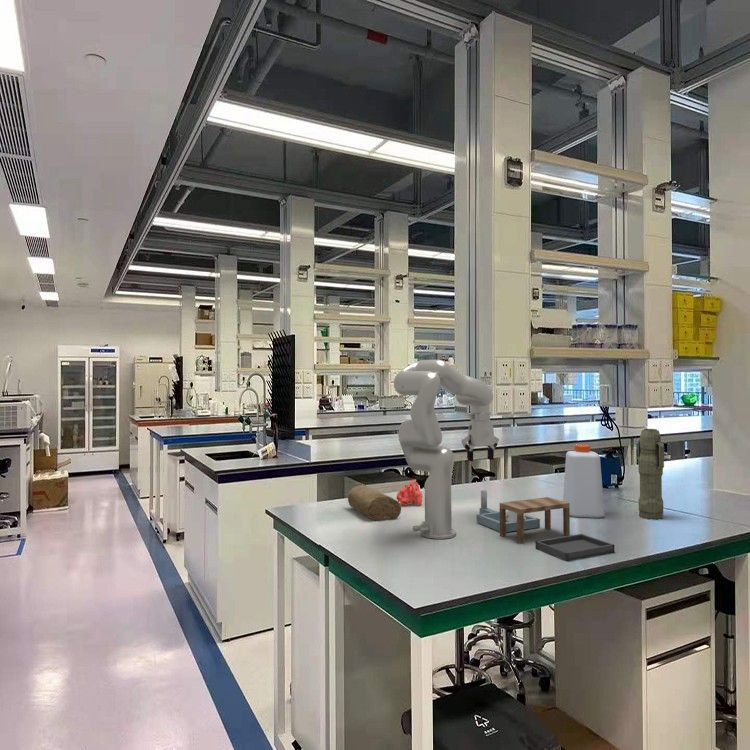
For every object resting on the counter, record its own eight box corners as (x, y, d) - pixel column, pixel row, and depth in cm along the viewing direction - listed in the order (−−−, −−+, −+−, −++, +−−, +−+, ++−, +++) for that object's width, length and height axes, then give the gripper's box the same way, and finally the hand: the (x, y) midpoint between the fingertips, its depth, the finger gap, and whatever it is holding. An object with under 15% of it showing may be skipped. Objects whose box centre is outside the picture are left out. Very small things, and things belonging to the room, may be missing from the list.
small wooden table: (520, 543, 189) (519, 509, 189) (499, 535, 199) (499, 503, 199) (569, 535, 198) (569, 503, 198) (547, 528, 208) (547, 497, 208)
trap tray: (566, 561, 171) (566, 553, 171) (535, 548, 184) (535, 541, 184) (614, 552, 179) (614, 544, 179) (581, 540, 192) (581, 533, 192)
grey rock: (499, 526, 214) (495, 509, 209) (516, 513, 216) (512, 496, 211) (514, 538, 207) (510, 521, 202) (532, 525, 210) (528, 508, 205)
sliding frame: (539, 527, 209) (539, 500, 209) (502, 532, 202) (502, 504, 202) (499, 512, 231) (499, 488, 231) (464, 517, 223) (464, 492, 224)
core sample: (375, 505, 247) (374, 483, 247) (402, 519, 223) (401, 494, 223) (345, 508, 241) (345, 485, 241) (369, 523, 217) (369, 497, 217)
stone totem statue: (656, 521, 216) (656, 431, 216) (630, 515, 227) (630, 428, 227) (672, 519, 220) (671, 430, 220) (645, 512, 231) (645, 427, 231)
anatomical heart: (395, 509, 246) (391, 482, 249) (417, 506, 252) (413, 480, 255) (406, 507, 239) (402, 480, 241) (429, 504, 245) (424, 477, 248)
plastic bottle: (606, 519, 221) (605, 448, 221) (566, 517, 224) (565, 447, 224) (599, 510, 236) (598, 443, 236) (561, 508, 239) (560, 442, 239)
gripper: (467, 418, 219) (467, 462, 219) (503, 417, 226) (503, 460, 226) (457, 417, 226) (457, 460, 226) (492, 416, 233) (492, 458, 233)
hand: (480, 460), depth 226 cm, fingers open, 9 cm apart
